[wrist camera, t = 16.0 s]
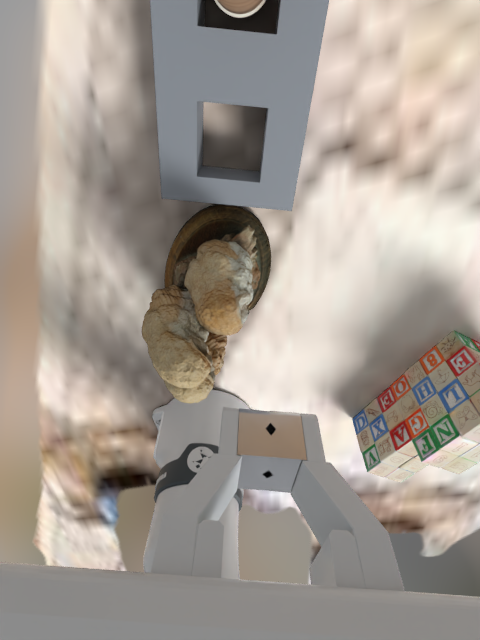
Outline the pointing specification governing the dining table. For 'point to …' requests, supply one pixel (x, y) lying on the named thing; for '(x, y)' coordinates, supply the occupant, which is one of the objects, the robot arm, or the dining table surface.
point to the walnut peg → (240, 7)
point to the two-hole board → (233, 98)
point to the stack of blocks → (426, 414)
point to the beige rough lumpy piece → (205, 297)
